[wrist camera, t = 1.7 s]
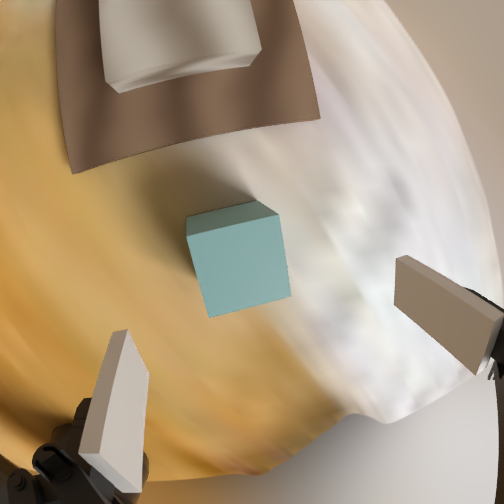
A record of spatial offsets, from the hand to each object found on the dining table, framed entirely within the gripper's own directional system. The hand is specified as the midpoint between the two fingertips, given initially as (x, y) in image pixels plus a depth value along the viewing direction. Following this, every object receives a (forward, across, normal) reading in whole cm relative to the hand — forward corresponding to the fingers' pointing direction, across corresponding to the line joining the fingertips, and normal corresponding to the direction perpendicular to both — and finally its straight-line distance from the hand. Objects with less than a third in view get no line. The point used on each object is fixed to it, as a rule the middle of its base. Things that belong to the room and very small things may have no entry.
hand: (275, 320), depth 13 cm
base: (+13, +2, -19) cm, 23 cm away
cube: (+13, 0, 0) cm, 13 cm away
